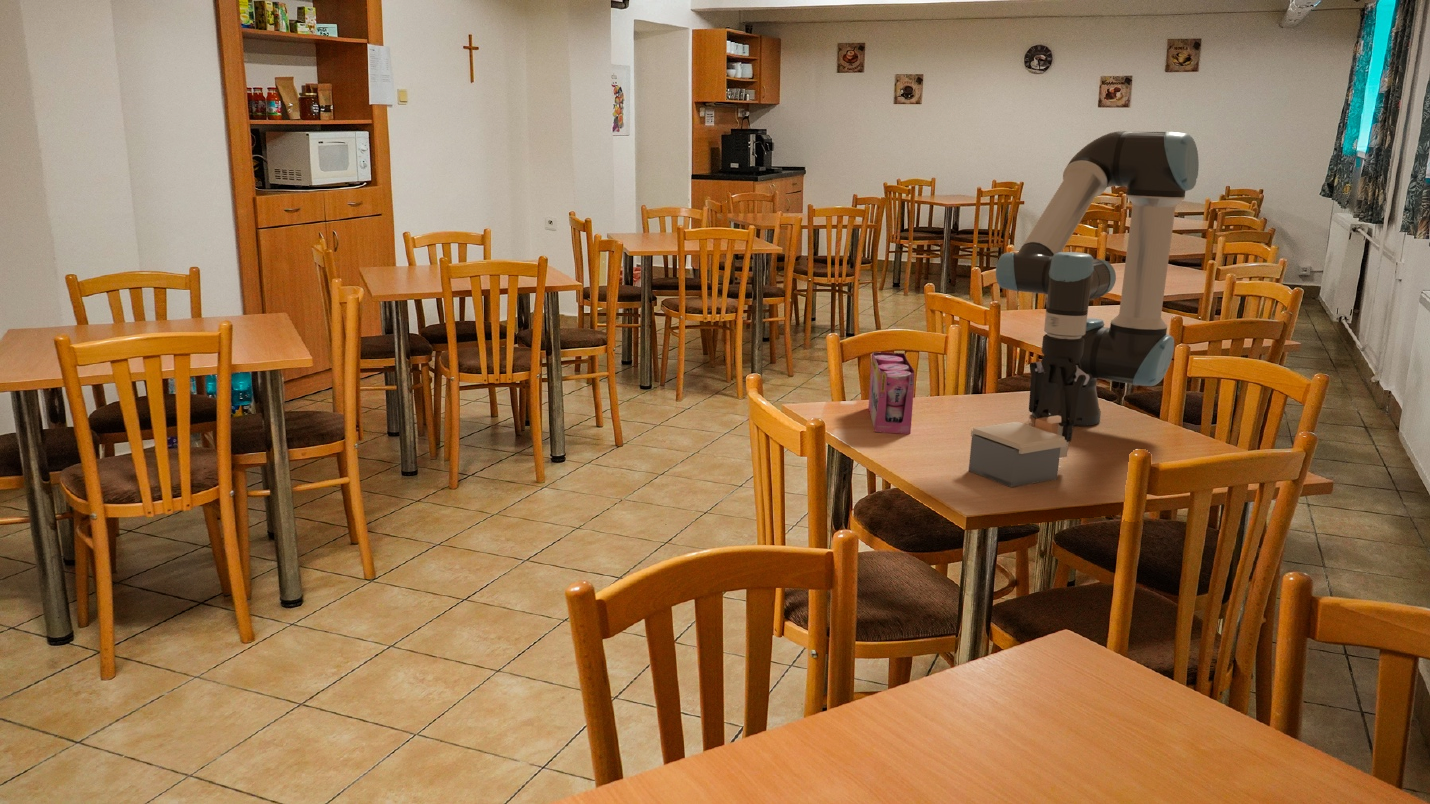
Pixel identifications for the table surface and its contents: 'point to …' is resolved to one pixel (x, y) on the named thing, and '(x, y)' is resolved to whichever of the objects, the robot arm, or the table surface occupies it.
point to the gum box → (891, 392)
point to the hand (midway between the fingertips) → (1051, 453)
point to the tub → (1012, 463)
